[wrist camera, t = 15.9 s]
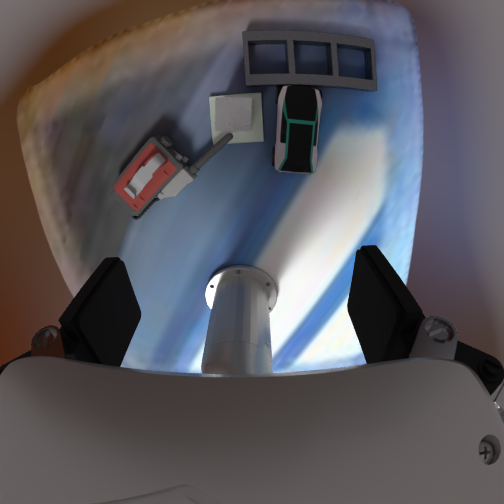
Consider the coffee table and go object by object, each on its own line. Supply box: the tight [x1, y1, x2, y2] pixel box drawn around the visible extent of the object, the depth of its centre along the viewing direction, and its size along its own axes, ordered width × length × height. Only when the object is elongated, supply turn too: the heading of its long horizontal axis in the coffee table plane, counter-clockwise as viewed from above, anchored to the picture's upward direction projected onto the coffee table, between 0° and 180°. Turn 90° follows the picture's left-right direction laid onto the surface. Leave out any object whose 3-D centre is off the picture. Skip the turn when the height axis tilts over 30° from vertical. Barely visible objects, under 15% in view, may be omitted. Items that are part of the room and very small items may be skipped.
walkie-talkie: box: [110, 133, 233, 220], centre depth 35 cm, size 9×4×20 cm
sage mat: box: [209, 93, 264, 145], centre depth 34 cm, size 7×7×1 cm
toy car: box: [272, 85, 322, 175], centre depth 33 cm, size 6×12×5 cm, turn 177°
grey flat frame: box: [242, 30, 377, 92], centre depth 29 cm, size 18×8×2 cm, turn 93°
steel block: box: [215, 97, 252, 132], centre depth 30 cm, size 4×4×7 cm
